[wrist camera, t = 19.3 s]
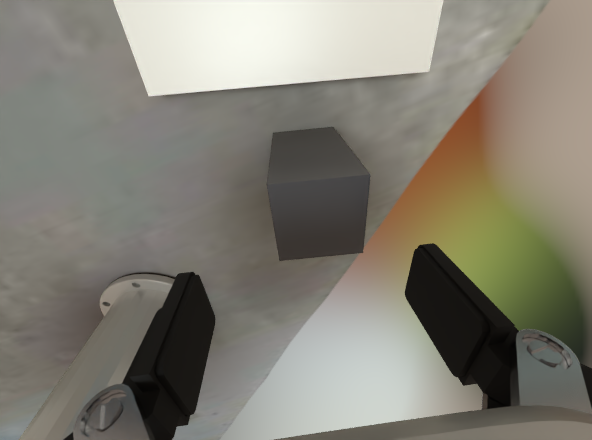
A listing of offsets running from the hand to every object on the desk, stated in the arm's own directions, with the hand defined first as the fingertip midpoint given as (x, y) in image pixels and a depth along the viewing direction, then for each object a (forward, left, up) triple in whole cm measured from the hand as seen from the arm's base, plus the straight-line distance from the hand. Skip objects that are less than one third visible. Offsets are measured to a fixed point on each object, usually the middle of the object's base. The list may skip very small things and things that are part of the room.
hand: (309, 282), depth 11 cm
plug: (+1, -1, -13) cm, 13 cm away
